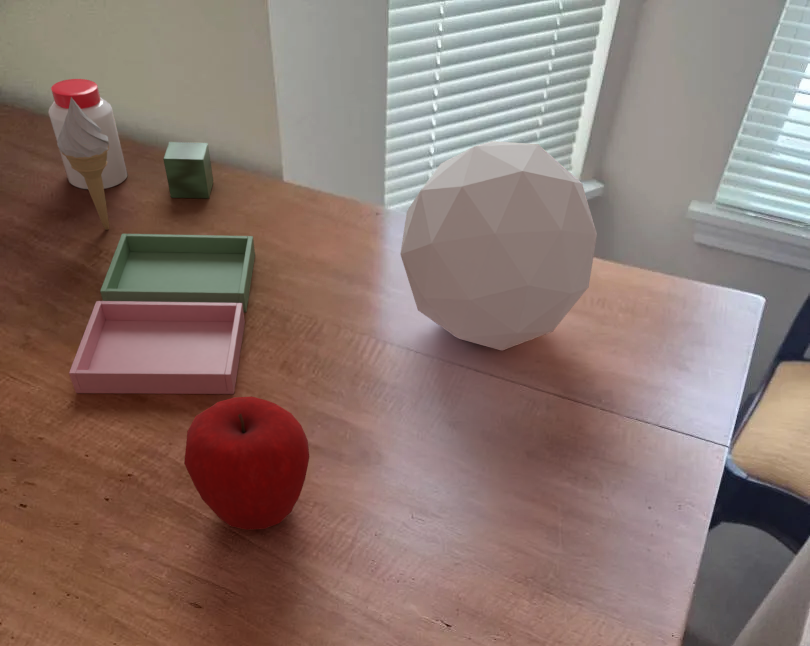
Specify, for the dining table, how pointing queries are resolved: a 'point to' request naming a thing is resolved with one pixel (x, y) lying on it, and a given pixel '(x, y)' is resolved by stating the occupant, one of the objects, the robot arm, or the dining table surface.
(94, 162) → the ice cream cone
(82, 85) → the pill bottle
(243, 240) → the green tray
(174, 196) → the green block
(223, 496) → the apple
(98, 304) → the pink tray
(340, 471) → the dining table surface
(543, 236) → the ball
